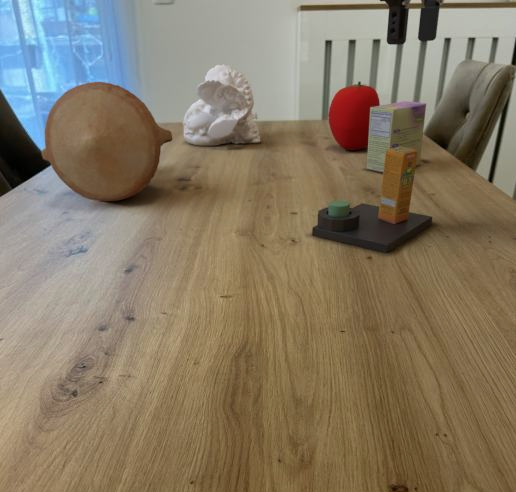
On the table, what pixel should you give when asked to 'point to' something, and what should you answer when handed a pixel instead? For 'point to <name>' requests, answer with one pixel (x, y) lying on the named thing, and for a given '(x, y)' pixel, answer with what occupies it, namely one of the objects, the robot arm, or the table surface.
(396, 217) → the supplement box
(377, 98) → the red apple
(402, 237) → the dark grey button base
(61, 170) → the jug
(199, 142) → the white sculpted figurine
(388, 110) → the box
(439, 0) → the robot arm
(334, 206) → the button
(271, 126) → the table surface
